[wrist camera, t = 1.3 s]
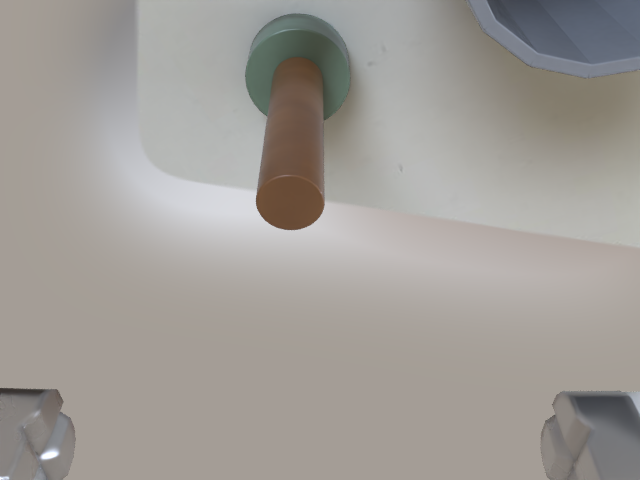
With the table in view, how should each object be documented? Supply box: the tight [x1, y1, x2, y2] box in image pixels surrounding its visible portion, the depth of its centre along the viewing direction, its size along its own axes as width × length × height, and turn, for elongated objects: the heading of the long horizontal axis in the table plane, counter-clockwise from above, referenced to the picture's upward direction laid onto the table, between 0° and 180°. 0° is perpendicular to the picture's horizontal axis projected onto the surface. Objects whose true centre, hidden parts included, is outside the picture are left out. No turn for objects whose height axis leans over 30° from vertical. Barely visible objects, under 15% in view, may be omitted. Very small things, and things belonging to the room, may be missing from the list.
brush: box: [245, 14, 350, 230], centre depth 26 cm, size 5×5×12 cm
